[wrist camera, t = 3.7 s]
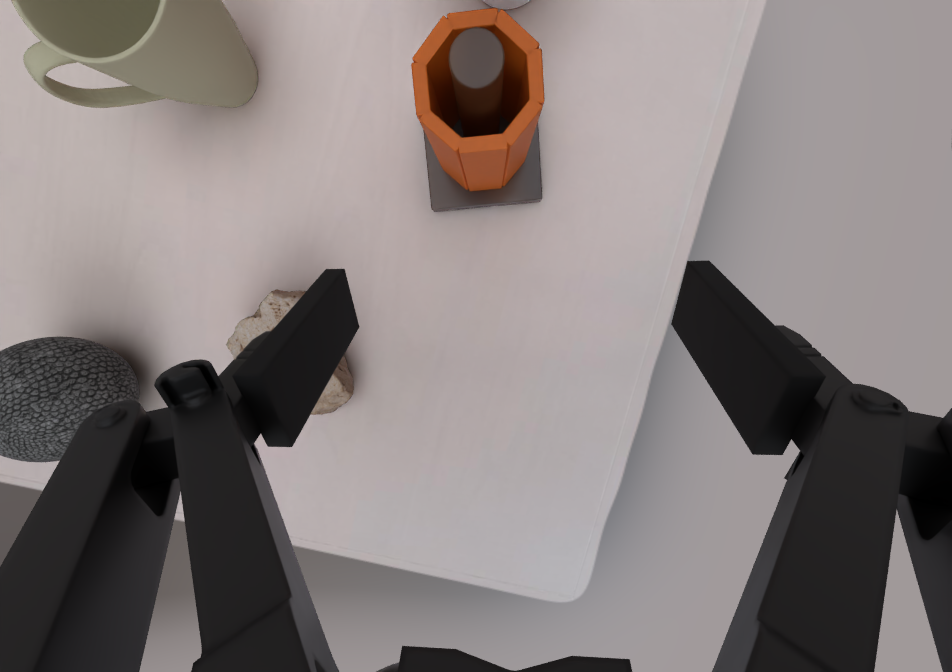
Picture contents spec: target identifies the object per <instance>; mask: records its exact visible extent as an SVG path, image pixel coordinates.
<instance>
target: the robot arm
mask: <svg viewBox="0 0 952 672" xmlns="http://www.w3.org/2000/svg"><path fill="white" fill-rule="evenodd" d="M672 326H673V327H674V329H675V331H676V332H677V334H678V335H679V337H680V339H681V340H682V342H683V343H684V345H685V347H686V348H687V350H688V351H689V353H690V355H691V356H692V358H693V360H694V361H695V363H696V364H697V366H698V368H699V369H700V371H701V372H702V374H703V376H704V377H705V379H706V380H707V382H708V384H709V385H710V387H711V388H712V390H713V392H714V393H715V395H716V396H717V398H718V400H719V401H720V403H721V404H722V406H723V407H724V409H725V411H726V412H727V414H728V416H729V417H730V419H731V420H732V422H733V424H734V425H735V427H736V428H737V430H738V432H739V433H740V435H741V437H742V438H743V440H744V441H745V443H746V444H747V446H748V447H749V449H750V451H751V453H752V454H756V455H760V454H761V455H783V453H784V451H785V449H786V448H787V446H788V444H789V442H790V440H791V439H792V440H793V441H794V443H795V444H796V446H797V447H798V448H799V450H800V452H799V454H798V456H797V457H796V459H795V461H794V463H793V464H792V466H791V468H790V469H789V471H788V473H787V474H786V476H785V479H787V482H786V484H785V487H784V489H783V492H782V494H781V497H780V500H779V502H778V505H777V507H776V510H775V512H774V515H773V517H772V520H771V523H770V525H769V528H768V530H767V533H766V535H765V538H764V540H763V543H762V546H761V548H760V551H759V553H758V556H757V558H756V561H755V563H754V566H753V569H752V572H751V574H750V576H749V579H748V581H747V584H746V587H745V589H744V592H743V594H742V597H741V599H740V602H739V604H738V607H737V609H736V612H735V615H734V617H733V620H732V622H731V625H730V627H729V630H728V632H727V635H726V638H725V640H724V643H723V645H722V648H721V650H720V653H719V655H718V658H717V661H716V663H715V666H714V668H713V671H712V672H874V668H875V661H876V654H877V646H878V639H879V632H880V625H881V618H882V610H883V603H884V596H885V588H886V581H887V574H888V567H889V560H890V552H891V544H892V538H893V531H894V523H895V515H896V509H897V511H898V515H899V518H900V521H901V525H902V529H903V532H904V536H905V539H906V543H907V546H908V550H909V553H910V557H911V560H912V564H913V567H914V571H915V574H916V578H917V581H918V585H919V588H920V592H921V596H922V599H923V602H924V606H925V610H926V613H927V617H928V620H929V624H930V627H931V631H932V634H933V638H934V641H935V645H936V648H937V652H938V655H939V659H940V663H941V666H942V670H943V672H952V408H951V409H950V411H949V412H948V413H947V414H946V416H945V417H944V418H941V417H935V416H930V415H925V414H920V413H914V412H910V411H908V409H907V407H906V406H905V405H904V404H903V403H902V402H901V401H900V400H898V399H896V398H895V397H893V396H892V395H890V394H889V393H886V392H884V391H881V390H879V389H877V388H874V387H870V386H866V385H861V384H853V383H852V382H851V381H849V380H848V379H847V378H846V377H845V376H844V375H843V374H842V373H841V372H840V371H839V370H838V369H836V367H834V366H833V365H832V364H831V363H830V362H829V361H828V360H827V359H826V358H825V357H823V356H821V353H819V352H818V351H817V350H816V349H815V348H812V345H811V344H810V343H809V342H808V341H807V340H805V339H804V338H803V337H802V336H801V335H800V334H798V333H796V332H794V331H792V330H791V329H789V328H787V327H785V326H775V325H774V324H773V323H772V322H771V321H770V320H769V319H768V318H766V316H764V314H763V313H761V312H760V311H759V310H758V309H757V308H756V307H755V306H754V305H753V304H752V303H751V302H750V301H749V300H748V299H747V298H746V297H745V296H744V295H743V294H742V293H741V292H740V291H739V290H738V289H737V288H736V287H735V286H734V285H733V284H732V283H731V282H730V281H729V280H728V279H727V278H726V277H725V276H724V275H723V274H722V273H721V272H720V271H719V270H718V269H717V268H716V267H715V266H714V265H713V264H712V263H711V262H710V261H687V265H686V269H685V273H684V277H683V281H682V284H681V288H680V292H679V296H678V300H677V304H676V308H675V312H674V316H673V320H672ZM358 329H359V324H358V320H357V316H356V312H355V308H354V304H353V300H352V296H351V293H350V289H349V285H348V281H347V277H346V273H345V269H326V270H325V271H324V272H323V273H322V274H321V275H320V277H319V278H318V279H317V280H316V281H315V282H314V283H313V284H312V286H311V287H310V288H309V289H308V290H307V291H306V292H305V294H304V295H303V296H302V297H301V298H300V299H299V300H298V302H297V303H296V304H295V305H294V306H293V307H292V308H291V309H290V311H289V312H288V313H287V314H286V315H285V316H284V317H283V319H282V320H281V321H280V322H279V323H278V324H277V325H276V327H275V328H274V329H273V330H272V331H265V332H264V333H262V334H261V335H259V336H257V337H256V338H254V339H253V340H252V341H251V342H250V343H249V344H248V345H247V346H246V347H245V348H244V349H243V351H241V352H240V354H239V355H238V356H237V357H236V359H234V360H233V361H232V362H231V363H230V364H229V366H228V367H227V368H226V369H225V370H224V371H223V372H222V373H221V374H220V375H219V376H218V375H217V373H216V371H215V369H214V368H213V366H212V364H211V363H210V362H209V361H206V360H191V361H187V362H184V363H180V364H178V365H176V366H174V367H171V368H170V369H168V370H167V371H165V372H164V373H162V374H161V375H160V376H159V377H158V378H157V379H156V382H155V385H154V386H155V388H156V389H157V391H158V392H159V394H160V395H161V397H162V398H163V400H164V401H165V403H166V404H167V406H168V407H167V408H163V409H158V410H153V411H149V412H145V410H144V409H143V408H142V406H141V405H140V404H139V403H138V402H137V401H135V400H124V401H118V402H115V403H112V404H108V405H105V406H103V407H102V408H99V409H98V410H96V411H95V412H94V413H92V414H91V415H89V416H88V417H87V418H86V419H85V420H84V421H83V422H82V423H81V425H80V426H79V428H78V430H77V431H76V433H75V435H74V437H73V438H72V440H71V442H70V444H69V446H68V447H67V449H66V451H65V453H64V454H63V456H62V458H61V460H60V462H59V463H58V465H57V467H56V469H55V470H54V472H53V474H52V476H51V478H50V479H49V481H48V483H47V485H46V486H45V488H44V490H43V492H42V494H41V496H40V497H39V499H38V501H37V502H36V504H35V506H34V508H33V510H32V511H31V513H30V515H29V517H28V519H27V520H26V522H25V524H24V526H23V527H22V529H21V531H20V533H19V534H18V536H17V538H16V540H15V542H14V543H13V545H12V547H11V549H10V551H9V552H8V554H7V556H6V558H5V559H4V561H3V563H2V565H1V567H0V672H139V670H140V666H141V661H142V657H143V653H144V648H145V644H146V639H147V635H148V631H149V626H150V621H151V618H152V613H153V609H154V605H155V600H156V596H157V592H158V587H159V583H160V578H161V574H162V569H163V565H164V561H165V557H166V552H167V548H168V543H169V539H170V535H171V530H172V526H173V522H174V517H175V513H176V509H177V504H178V500H179V496H180V491H181V496H182V504H183V511H184V518H185V526H186V533H187V541H188V548H189V555H190V562H191V570H192V578H193V585H194V592H195V600H196V607H197V615H198V622H199V630H200V637H201V645H202V654H201V658H199V659H198V660H197V661H195V662H194V663H193V667H192V671H191V672H339V670H338V668H337V666H336V664H335V661H334V659H333V657H332V654H331V652H330V649H329V646H328V643H327V641H326V638H325V635H324V632H323V630H322V627H321V624H320V621H319V619H318V616H317V613H316V610H315V608H314V605H313V602H312V599H311V597H310V594H309V591H308V588H307V586H306V583H305V580H304V577H303V575H302V572H301V569H300V566H299V563H298V561H297V558H296V555H295V552H294V550H293V547H292V544H291V541H290V538H289V536H288V533H287V530H286V527H285V525H284V522H283V519H282V516H281V513H280V511H279V508H278V505H277V502H276V500H275V497H274V494H273V491H272V489H271V486H270V483H269V480H268V478H267V475H266V472H265V469H264V466H263V464H262V461H261V458H260V455H259V453H258V450H257V448H256V446H255V445H254V442H255V441H256V439H257V438H258V436H259V435H260V433H261V434H262V436H263V438H264V440H265V442H266V444H267V446H268V447H292V446H293V444H294V443H295V441H296V439H297V437H298V435H299V434H300V432H301V430H302V428H303V427H304V425H305V423H306V421H307V419H308V418H309V416H310V414H311V412H312V410H313V409H314V407H315V405H316V403H317V402H318V400H319V398H320V396H321V394H322V393H323V391H324V389H325V387H326V386H327V384H328V382H329V380H330V378H331V377H332V375H333V373H334V371H335V369H336V368H337V366H338V364H339V362H340V361H341V359H342V357H343V355H344V353H345V352H346V350H347V348H348V346H349V345H350V343H351V341H352V339H353V337H354V336H355V334H356V332H357V330H358ZM377 672H632V669H631V664H630V660H629V659H615V658H598V657H581V656H570V657H566V658H563V659H559V660H555V661H552V662H548V663H544V664H541V665H537V666H533V667H530V668H526V669H522V670H518V671H511V670H508V669H505V668H502V667H500V666H497V665H495V664H492V663H490V662H487V661H484V660H482V659H480V658H477V657H474V656H472V655H469V654H467V653H464V652H462V651H459V650H457V649H444V648H427V647H409V646H402V650H401V656H400V662H399V663H396V664H392V665H390V666H387V667H385V668H383V669H381V670H379V671H377Z"/></svg>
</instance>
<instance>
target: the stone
mask: <svg viewBox="0 0 952 672" xmlns="http://www.w3.org/2000/svg"><path fill="white" fill-rule="evenodd" d="M305 292H306V291H291V292H287V291H280V290H275V291H272V292H271V293H270V294H269V295H268V296H267V297H266V298H265V299H264V301H263V302H261V304H260V305H259V310H257V312H256V313H255V315H254V316H251V317H247V318H245V319H243V320H242V321H240V322H239V323H238V325H237V326H236V328H235V332H234V335H232V336H231V337H230V338H229V339H228V342H227V344H226V345H227V347H228V349H229V350H230V351H231V353H232V355H233V358H234V359H236V357H237V356H238V355H239V354H240V352H241V351H243V349H244V348H245V347H246V346H247V345H248V344H249V343H250V342H251V341H252V340H253V339H254V338H256V337H257V336H259V335H261V334H262V333H264V332H265V331H272V330H273V329H274V328H275V327H276V325H277V324H278V323H279V322H280V321H281V320H282V319H283V317H284V316H285V315H286V314H287V313H288V312H289V311H290V309H291V308H292V307H293V306H294V305H295V304H296V303H297V302H298V300H299V299H300V298H301V297H302V296H303V295H304V294H305ZM353 390H354V386H353V379H352V376H351V374H350V372H349V370H348V367H347V362H346V359H345V357H344V355H343V357H342V359H341V361H340V362H339V364H338V366H337V368H336V369H335V371H334V373H333V375H332V377H331V378H330V380H329V382H328V384H327V386H326V387H325V389H324V391H323V393H322V394H321V396H320V398H319V400H318V402H317V403H316V405H315V407H314V409H313V410H312V412H311V414H312V415H316V414H324V413H331V412H333V411H335V410H336V409H337V408H338V407H340V406H341V405H342V404H345V403H346V402H347V401H348V400H349V399H350V398H351V396H352V395H353Z"/></svg>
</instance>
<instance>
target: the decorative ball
mask: <svg viewBox="0 0 952 672" xmlns="http://www.w3.org/2000/svg"><path fill="white" fill-rule="evenodd" d="M138 399H139V384H138V380H137V378H136V375H135V373H134V371H133V370H132V368H131V367H130V365H129V364H128V363H127V362H126V361H125V360H124V359H123V358H122V357H121V356H120V355H118V354H117V353H116V352H114V351H113V350H111V349H109V348H107V347H105V346H103V345H101V344H98V343H95V342H92V341H89V340H85V339H80V338H72V337H47V338H39V339H34V340H29V341H25V342H22V343H19V344H16V345H13V346H11V347H8V348H6V349H4V350H2V351H0V455H1V456H4V457H7V458H11V459H15V460H20V461H27V462H51V461H59V460H61V458H62V456H63V454H64V453H65V451H66V449H67V447H68V446H69V444H70V442H71V440H72V438H73V437H74V435H75V433H76V431H77V430H78V428H79V426H80V425H81V423H82V422H83V421H84V420H85V419H86V418H87V417H88V416H89V415H91V414H92V413H94V412H95V411H96V410H98V409H99V408H102V407H103V406H105V405H108V404H112V403H115V402H118V401H124V400H135V401H137V402H138Z"/></svg>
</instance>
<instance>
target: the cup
mask: <svg viewBox="0 0 952 672" xmlns="http://www.w3.org/2000/svg"><path fill="white" fill-rule="evenodd" d="M483 1H484V2H485V3H486V4H488V5H490V6H492V7H495V8H498V9H506V10H507V9H514V8H517V7H520V6H522V5H524V4H526V3H527V2H529V1H530V0H483Z"/></svg>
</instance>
